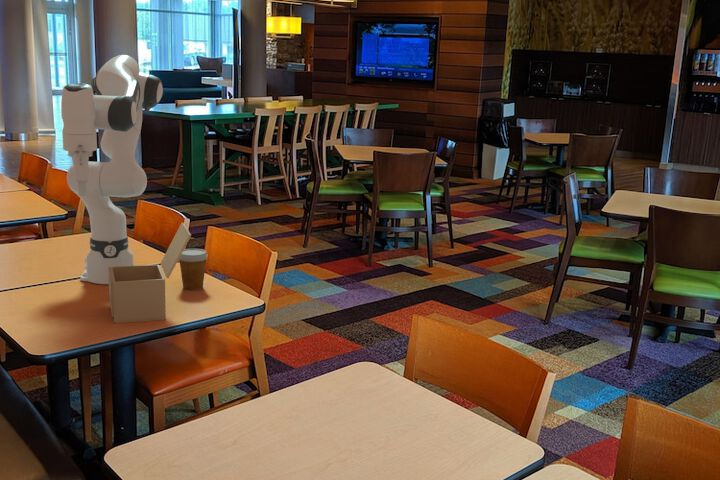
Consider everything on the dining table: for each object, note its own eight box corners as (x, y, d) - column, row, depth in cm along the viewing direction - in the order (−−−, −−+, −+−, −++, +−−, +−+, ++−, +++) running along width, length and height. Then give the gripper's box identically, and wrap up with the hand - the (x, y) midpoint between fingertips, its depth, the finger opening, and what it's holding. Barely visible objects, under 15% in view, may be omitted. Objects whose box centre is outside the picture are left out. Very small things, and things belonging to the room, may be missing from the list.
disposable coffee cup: (193, 281, 252) (193, 246, 250) (213, 287, 247) (213, 251, 244) (171, 287, 245) (171, 251, 242) (192, 293, 239) (191, 257, 237)
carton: (109, 305, 225) (108, 267, 222) (159, 302, 230) (158, 264, 227) (112, 323, 210) (110, 282, 207) (165, 319, 215) (165, 279, 213)
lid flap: (181, 222, 226) (183, 223, 227) (160, 263, 227) (162, 264, 227) (189, 234, 212) (191, 235, 212) (166, 277, 213) (168, 278, 213)
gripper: (93, 148, 199) (95, 199, 202) (91, 139, 218) (93, 186, 221) (67, 148, 197) (70, 200, 200) (67, 139, 215) (70, 187, 219)
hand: (82, 193), depth 211 cm, fingers open, 8 cm apart
